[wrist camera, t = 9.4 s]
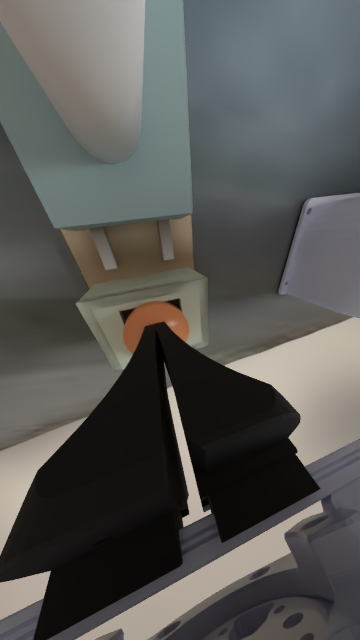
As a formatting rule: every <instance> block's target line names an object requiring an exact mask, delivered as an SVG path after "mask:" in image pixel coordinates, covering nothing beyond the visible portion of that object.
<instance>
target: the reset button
mask: <svg viewBox="0 0 360 640" xmlns="http://www.w3.org/2000/svg"><path fill="white" fill-rule="evenodd" d="M160 322H166V324H167V325H168V326H169V327H170V328H171V330H172V331H173V332H174V333H175V334H177V335H178V336H179V337H180V338H181V339H182V340H183V341H185V342H186V341H187V339H188V336H189V324H188V322H187V320H186V318H185V316H184V315H183V313H182V312H181V310H180V309H179V308H177V307H176V306H175V305H173V304H171V303H168V301H165V302H164V301H152V302H147V303H144V304H142V305H140V306H138V307H137V308H135V309H134V310H133V311H132V312H131V313H130V314H129V316H128V317H127V319H126V322H125V326H124V332H123V339H124V343H125V345H126V347H127V349H128V350H129V351H130V352H131V353H132V354H133V353H134V351H135V349H136V347H137V345H138V343H139V341H140V338H141V336H142V333H143V330H144V327H145V326H147V325H151V324H156V323H160Z"/></svg>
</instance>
